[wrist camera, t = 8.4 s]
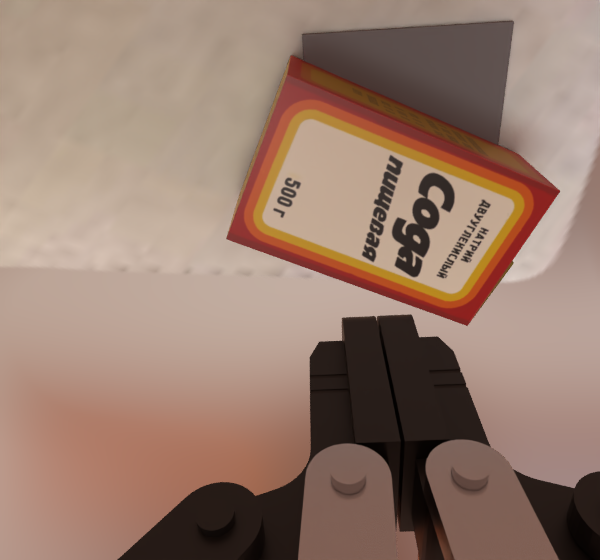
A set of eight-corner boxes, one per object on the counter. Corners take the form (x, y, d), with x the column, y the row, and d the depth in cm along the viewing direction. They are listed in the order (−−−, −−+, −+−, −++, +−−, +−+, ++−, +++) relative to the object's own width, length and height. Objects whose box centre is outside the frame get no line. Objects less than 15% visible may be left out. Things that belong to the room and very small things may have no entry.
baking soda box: (287, 74, 26) (565, 193, 29) (290, 55, 31) (523, 156, 34) (226, 239, 30) (472, 327, 33) (238, 196, 36) (448, 275, 39)
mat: (311, 209, 37) (311, 212, 36) (302, 34, 31) (302, 34, 31) (488, 200, 36) (490, 203, 36) (511, 21, 31) (513, 21, 30)
